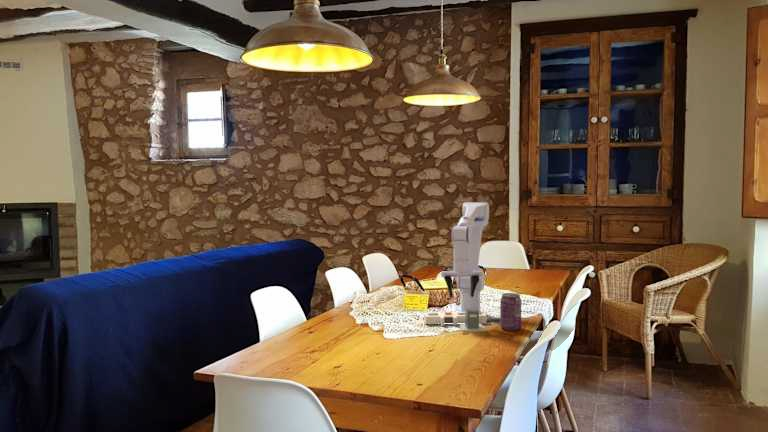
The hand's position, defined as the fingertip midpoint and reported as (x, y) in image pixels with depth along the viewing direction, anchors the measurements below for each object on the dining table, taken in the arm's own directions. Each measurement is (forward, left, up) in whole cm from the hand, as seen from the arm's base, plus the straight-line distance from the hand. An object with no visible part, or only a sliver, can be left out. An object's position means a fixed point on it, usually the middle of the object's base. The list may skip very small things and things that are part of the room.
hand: (461, 296), depth 219 cm
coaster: (+7, +3, -10) cm, 12 cm away
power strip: (-1, +1, -10) cm, 10 cm away
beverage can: (+8, +16, -10) cm, 21 cm away
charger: (+6, +3, -9) cm, 11 cm away
